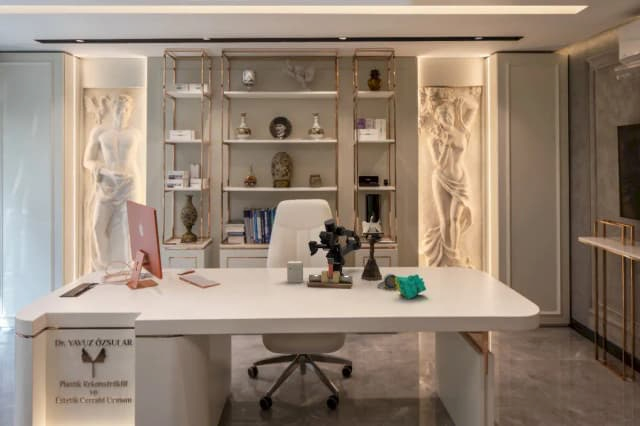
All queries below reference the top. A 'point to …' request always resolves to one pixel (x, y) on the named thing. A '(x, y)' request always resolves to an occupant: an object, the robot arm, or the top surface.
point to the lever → (330, 268)
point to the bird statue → (372, 250)
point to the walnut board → (330, 284)
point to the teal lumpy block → (410, 285)
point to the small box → (295, 271)
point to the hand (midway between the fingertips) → (318, 256)
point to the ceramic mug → (388, 281)
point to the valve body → (336, 278)
